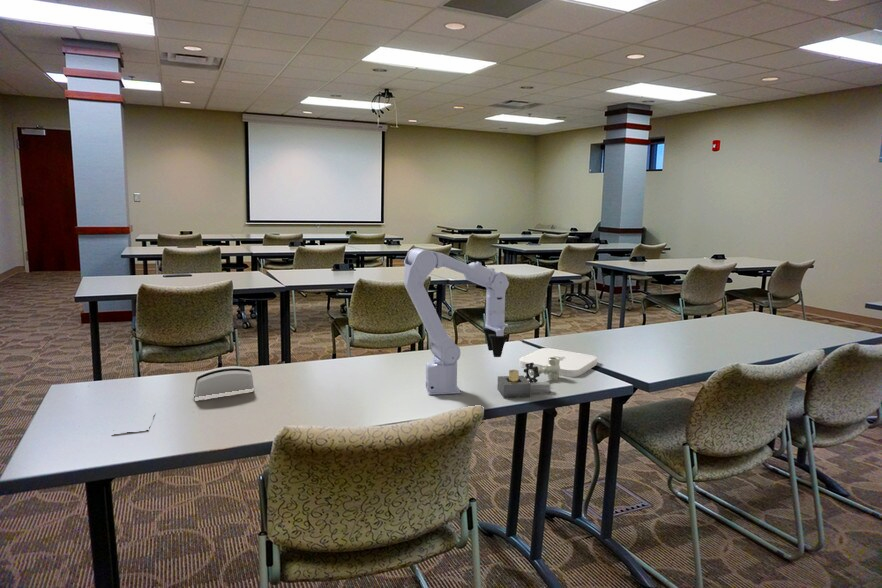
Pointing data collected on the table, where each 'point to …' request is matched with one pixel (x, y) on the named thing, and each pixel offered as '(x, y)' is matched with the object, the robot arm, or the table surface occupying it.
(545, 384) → the grey socket block
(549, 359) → the valve
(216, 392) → the grey rounded block
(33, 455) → the table surface
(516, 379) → the brass pin
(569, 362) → the computer
